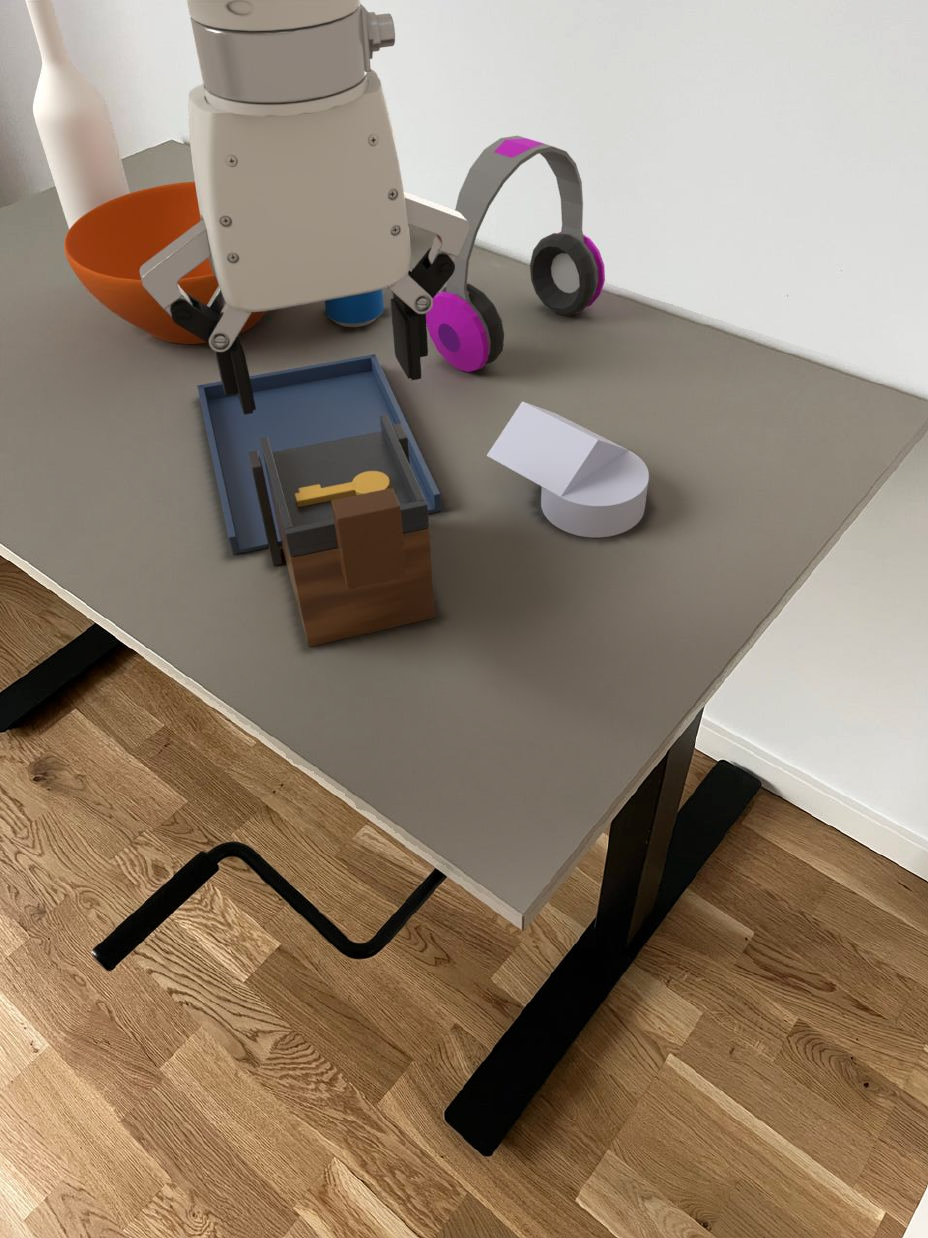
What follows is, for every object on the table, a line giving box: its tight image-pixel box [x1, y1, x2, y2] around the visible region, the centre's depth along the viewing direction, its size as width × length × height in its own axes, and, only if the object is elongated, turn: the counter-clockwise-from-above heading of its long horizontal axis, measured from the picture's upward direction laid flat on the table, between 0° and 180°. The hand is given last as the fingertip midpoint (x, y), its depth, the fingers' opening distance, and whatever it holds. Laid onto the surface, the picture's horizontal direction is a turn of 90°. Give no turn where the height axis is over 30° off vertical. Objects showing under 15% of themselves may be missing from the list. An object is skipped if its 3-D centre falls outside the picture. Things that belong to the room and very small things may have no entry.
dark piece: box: [260, 414, 430, 590], centre depth 69 cm, size 18×10×7 cm, turn 17°
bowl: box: [63, 181, 267, 345], centre depth 109 cm, size 25×25×10 cm
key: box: [295, 471, 390, 507], centre depth 72 cm, size 7×3×1 cm, turn 107°
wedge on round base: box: [486, 401, 650, 538], centre depth 85 cm, size 9×7×13 cm
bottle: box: [24, 0, 131, 230], centre depth 112 cm, size 8×8×30 cm
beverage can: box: [324, 289, 385, 328], centre depth 107 cm, size 6×6×12 cm
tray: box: [196, 353, 442, 555], centre depth 92 cm, size 25×18×2 cm
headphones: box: [426, 135, 606, 373], centre depth 100 cm, size 21×9×20 cm, turn 136°
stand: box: [248, 423, 436, 648], centre depth 76 cm, size 12×12×10 cm
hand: (328, 384), depth 57 cm, fingers open, 9 cm apart
